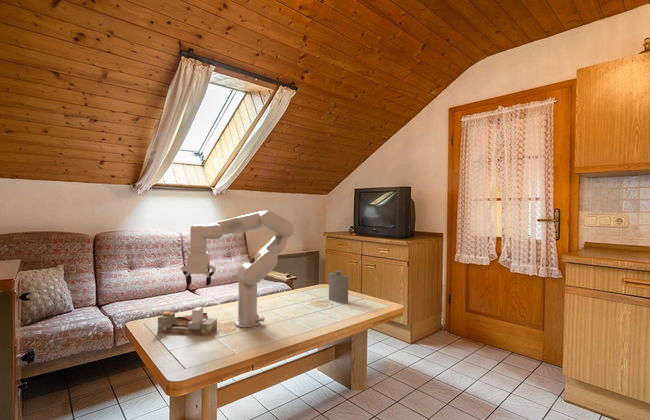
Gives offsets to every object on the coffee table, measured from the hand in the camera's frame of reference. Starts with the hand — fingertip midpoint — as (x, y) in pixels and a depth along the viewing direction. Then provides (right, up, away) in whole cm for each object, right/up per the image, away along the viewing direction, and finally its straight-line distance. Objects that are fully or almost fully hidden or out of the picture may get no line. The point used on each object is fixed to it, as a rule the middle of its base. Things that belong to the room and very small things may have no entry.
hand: (198, 284), depth 163 cm
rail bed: (-5, -23, -1) cm, 23 cm away
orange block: (-16, -19, +1) cm, 25 cm away
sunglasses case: (-8, -23, +11) cm, 27 cm away
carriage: (0, -20, -1) cm, 20 cm away
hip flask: (+70, -23, +54) cm, 92 cm away
